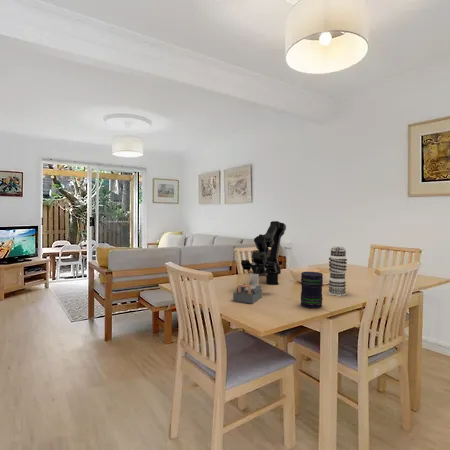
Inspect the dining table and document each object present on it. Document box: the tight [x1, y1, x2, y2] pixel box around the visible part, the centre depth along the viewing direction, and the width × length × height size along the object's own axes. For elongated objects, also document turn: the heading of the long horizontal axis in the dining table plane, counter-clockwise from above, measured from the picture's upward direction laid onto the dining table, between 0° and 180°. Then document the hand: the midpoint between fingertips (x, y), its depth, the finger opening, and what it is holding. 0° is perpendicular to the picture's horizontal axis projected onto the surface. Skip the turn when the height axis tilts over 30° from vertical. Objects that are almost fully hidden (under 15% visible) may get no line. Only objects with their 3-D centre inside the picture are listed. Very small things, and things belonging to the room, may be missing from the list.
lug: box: [237, 283, 251, 294], centre depth 159 cm, size 1×6×4 cm, turn 64°
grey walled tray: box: [232, 283, 263, 305], centre depth 163 cm, size 13×10×6 cm
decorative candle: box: [328, 246, 348, 297], centre depth 174 cm, size 9×9×25 cm
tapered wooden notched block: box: [244, 272, 260, 291], centre depth 166 cm, size 10×4×7 cm, turn 154°
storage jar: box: [300, 271, 324, 309], centre depth 153 cm, size 10×10×15 cm
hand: (254, 279), depth 171 cm, fingers closed, pressing on tapered wooden notched block
